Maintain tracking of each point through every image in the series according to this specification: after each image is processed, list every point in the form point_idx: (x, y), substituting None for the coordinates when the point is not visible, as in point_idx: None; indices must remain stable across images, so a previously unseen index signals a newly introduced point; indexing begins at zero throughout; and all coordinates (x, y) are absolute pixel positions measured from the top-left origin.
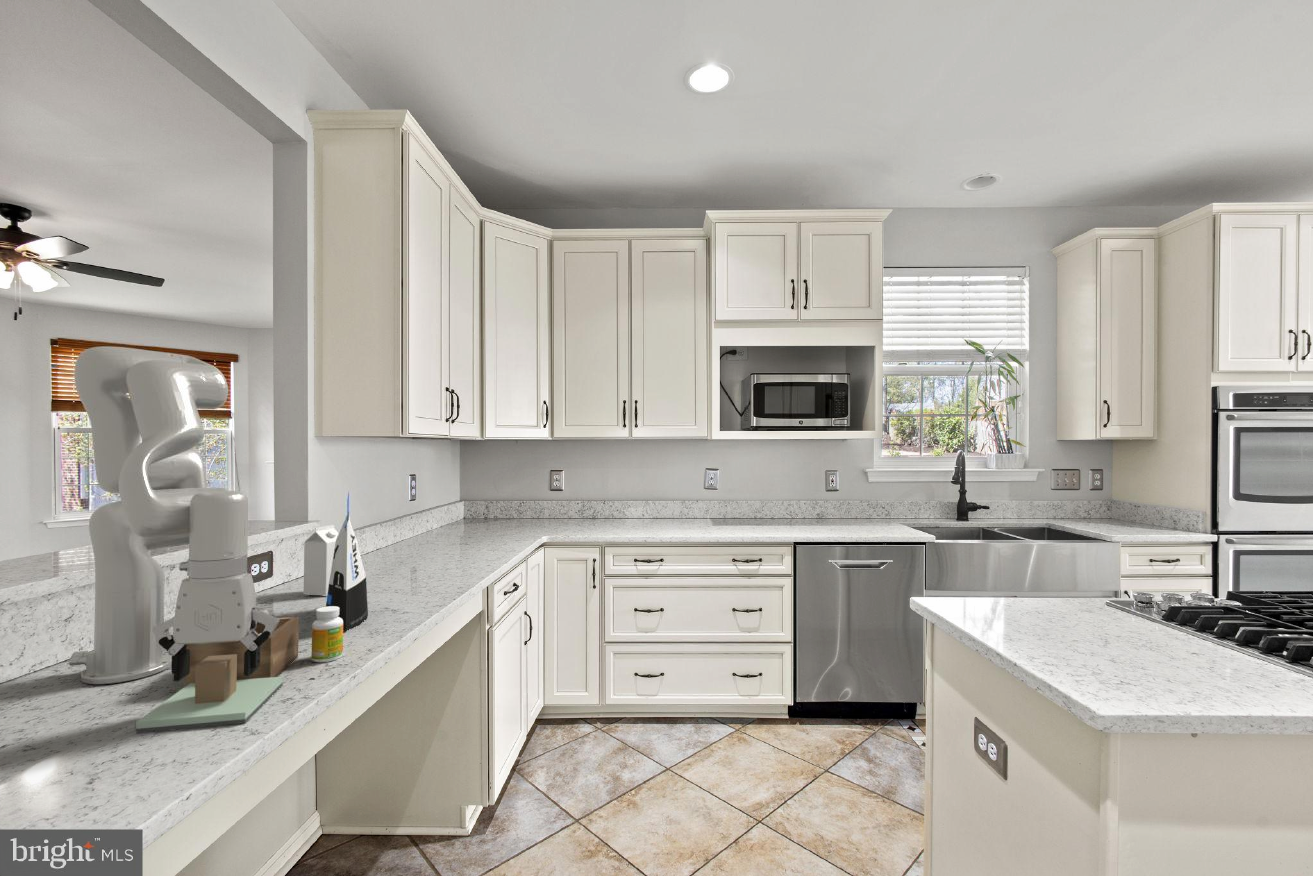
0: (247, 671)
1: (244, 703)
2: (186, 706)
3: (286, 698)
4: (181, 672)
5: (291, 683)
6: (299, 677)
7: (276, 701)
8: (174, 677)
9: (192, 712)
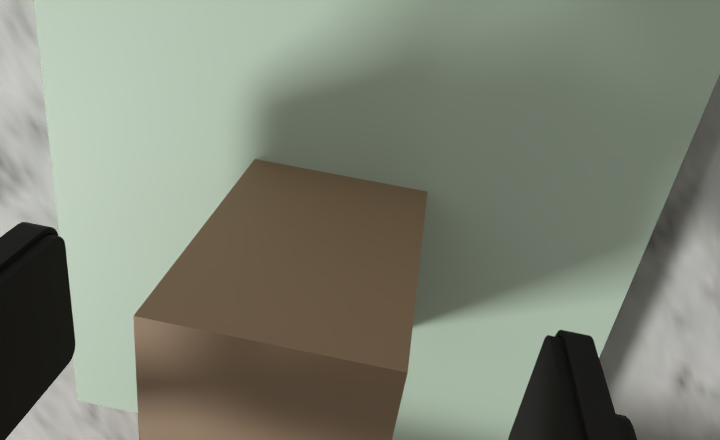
0: (11, 239)
1: (106, 67)
2: (467, 164)
3: (4, 194)
4: (545, 393)
5: (74, 377)
6: (70, 430)
7: (39, 173)
8: (589, 351)
9: (397, 36)
